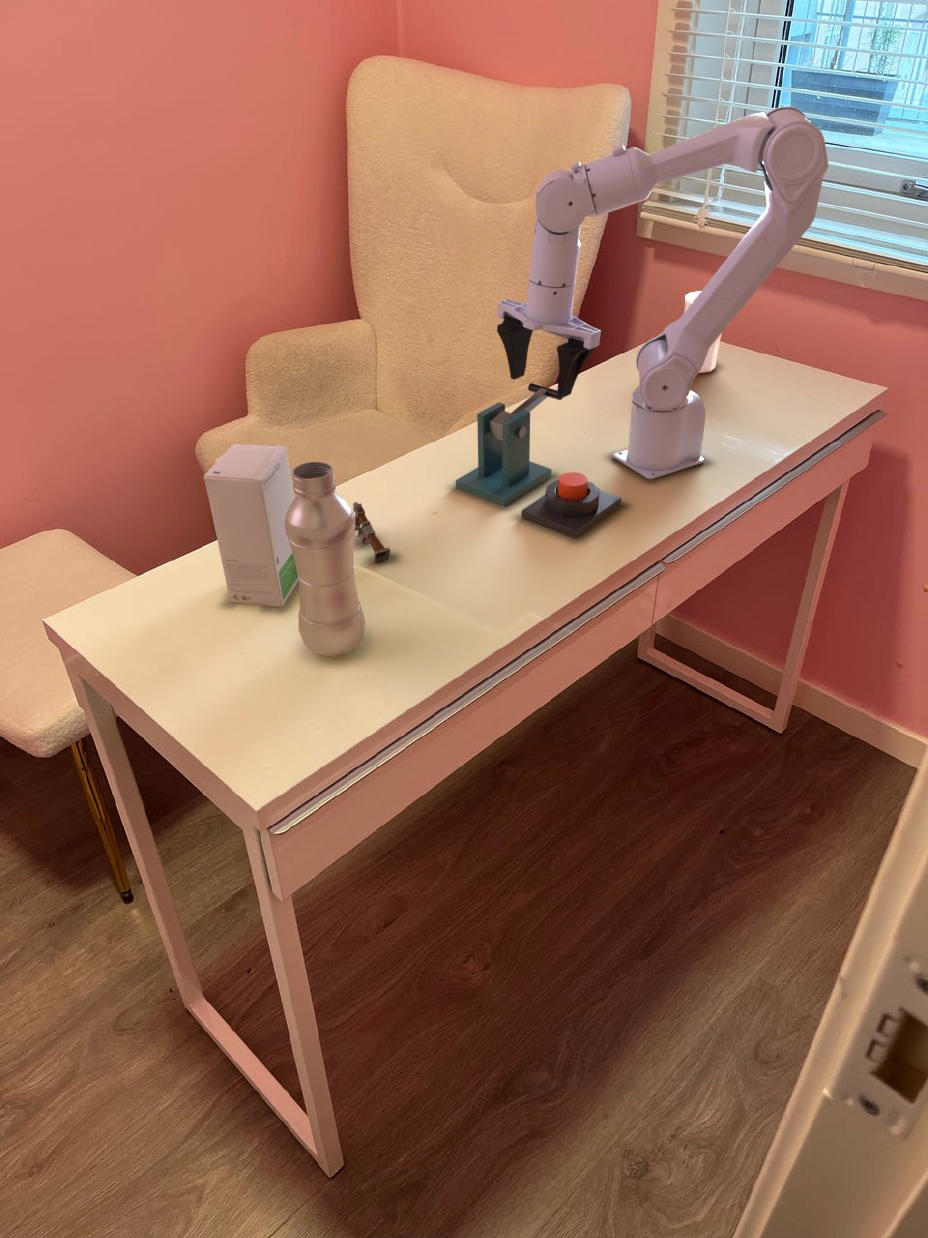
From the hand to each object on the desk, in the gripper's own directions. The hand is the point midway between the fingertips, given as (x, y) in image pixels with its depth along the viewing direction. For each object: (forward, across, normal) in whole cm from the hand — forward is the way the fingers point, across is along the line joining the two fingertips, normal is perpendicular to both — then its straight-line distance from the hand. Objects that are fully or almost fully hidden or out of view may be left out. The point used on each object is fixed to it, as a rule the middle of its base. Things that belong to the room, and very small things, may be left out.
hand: (540, 385), depth 126 cm
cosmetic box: (+13, -5, -43) cm, 45 cm away
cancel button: (+8, +12, -9) cm, 17 cm away
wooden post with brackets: (+12, -1, -30) cm, 32 cm away
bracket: (+11, +1, -8) cm, 13 cm away
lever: (+3, +1, -4) cm, 5 cm away
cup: (+9, +2, +42) cm, 43 cm away
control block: (+10, +12, -8) cm, 18 cm away
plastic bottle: (+12, +9, -45) cm, 48 cm away
